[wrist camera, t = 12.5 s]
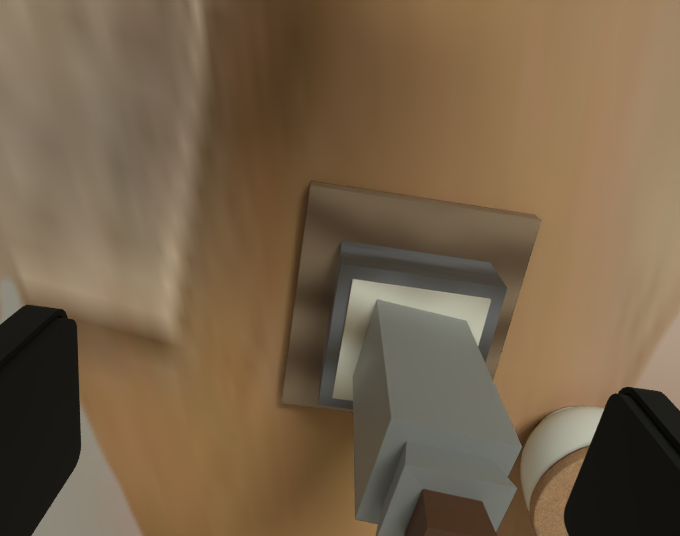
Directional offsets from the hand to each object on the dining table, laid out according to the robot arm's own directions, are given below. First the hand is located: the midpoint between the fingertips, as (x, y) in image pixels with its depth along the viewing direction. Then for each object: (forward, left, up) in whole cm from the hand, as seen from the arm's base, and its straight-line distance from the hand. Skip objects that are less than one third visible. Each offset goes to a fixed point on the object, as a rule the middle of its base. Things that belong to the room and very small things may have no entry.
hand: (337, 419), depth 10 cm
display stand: (+14, +7, -34) cm, 38 cm away
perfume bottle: (+14, +7, -28) cm, 32 cm away
